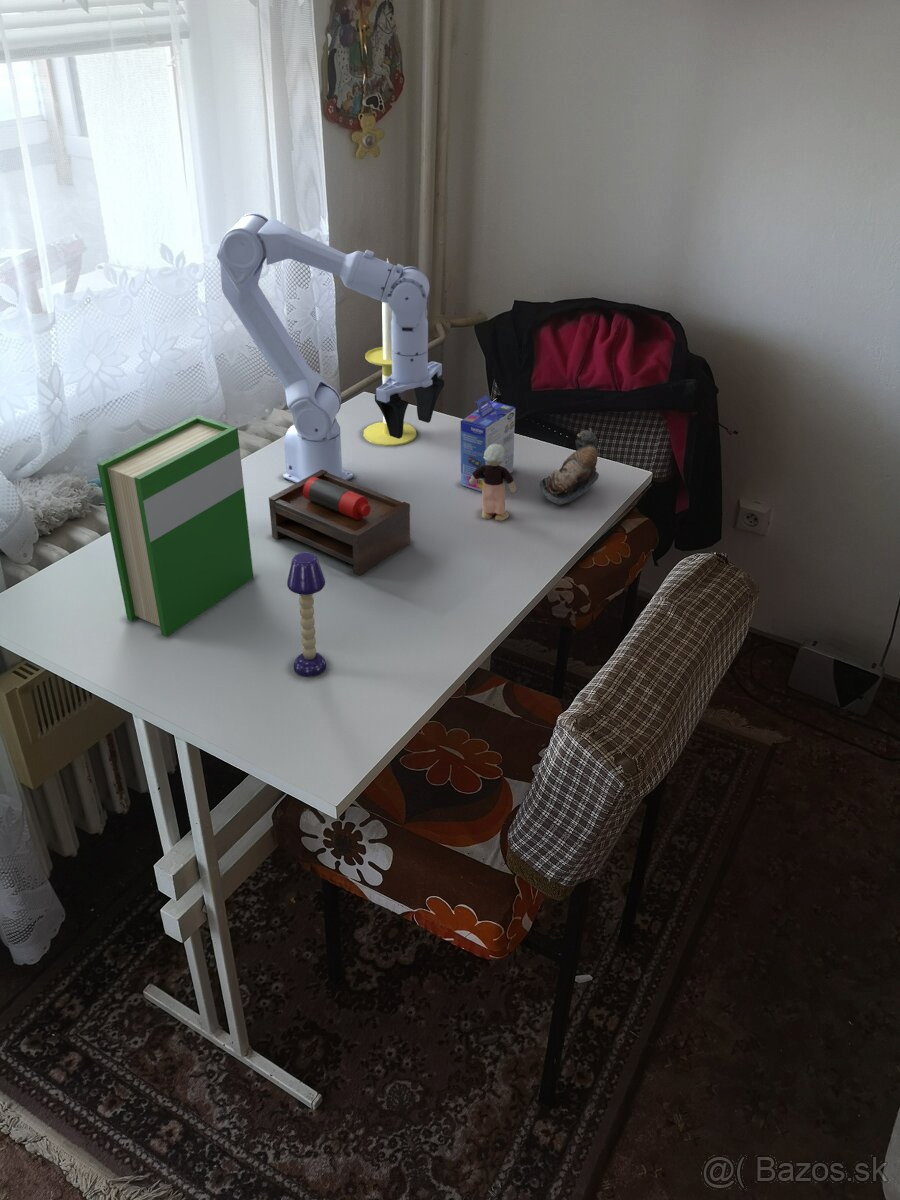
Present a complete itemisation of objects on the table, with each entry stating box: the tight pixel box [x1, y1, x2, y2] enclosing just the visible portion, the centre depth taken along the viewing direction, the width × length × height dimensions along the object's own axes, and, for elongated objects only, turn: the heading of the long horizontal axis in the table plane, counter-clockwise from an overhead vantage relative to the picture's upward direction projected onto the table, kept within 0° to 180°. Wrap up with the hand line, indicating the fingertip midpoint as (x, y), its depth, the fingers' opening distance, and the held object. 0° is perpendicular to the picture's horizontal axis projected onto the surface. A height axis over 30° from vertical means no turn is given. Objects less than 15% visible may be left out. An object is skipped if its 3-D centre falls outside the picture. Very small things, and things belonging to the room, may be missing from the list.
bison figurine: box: [539, 427, 600, 506], centre depth 171 cm, size 12×7×10 cm, turn 142°
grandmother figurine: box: [469, 443, 517, 522], centre depth 164 cm, size 8×4×13 cm, turn 84°
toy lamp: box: [286, 551, 327, 678], centre depth 130 cm, size 5×5×17 cm
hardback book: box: [96, 414, 254, 638], centre depth 140 cm, size 18×7×24 cm, turn 148°
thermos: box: [303, 477, 371, 520], centre depth 155 cm, size 11×4×4 cm, turn 53°
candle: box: [363, 257, 417, 447], centre depth 183 cm, size 10×10×32 cm
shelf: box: [268, 469, 411, 577], centre depth 159 cm, size 18×12×7 cm, turn 53°
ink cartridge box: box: [460, 394, 516, 493], centre depth 174 cm, size 10×6×14 cm, turn 147°
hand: (410, 428), depth 170 cm, fingers open, 7 cm apart
